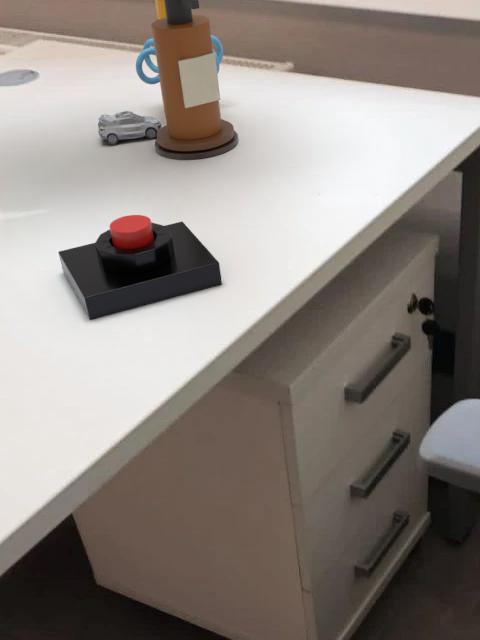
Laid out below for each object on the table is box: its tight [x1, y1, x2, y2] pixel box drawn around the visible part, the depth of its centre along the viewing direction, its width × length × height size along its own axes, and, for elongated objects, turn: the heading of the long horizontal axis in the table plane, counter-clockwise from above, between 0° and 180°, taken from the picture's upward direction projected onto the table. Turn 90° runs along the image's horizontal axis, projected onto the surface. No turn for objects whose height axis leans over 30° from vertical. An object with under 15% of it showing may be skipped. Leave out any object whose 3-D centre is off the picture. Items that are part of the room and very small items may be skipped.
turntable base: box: [154, 130, 239, 160], centre depth 106 cm, size 10×10×1 cm
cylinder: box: [135, 0, 224, 113], centre depth 111 cm, size 12×10×15 cm
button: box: [109, 214, 154, 249], centre depth 77 cm, size 4×4×2 cm
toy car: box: [97, 110, 164, 146], centre depth 108 cm, size 4×8×3 cm, turn 105°
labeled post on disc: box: [150, 0, 235, 151], centre depth 100 cm, size 9×9×19 cm
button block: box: [58, 221, 223, 321], centre depth 79 cm, size 12×10×4 cm
